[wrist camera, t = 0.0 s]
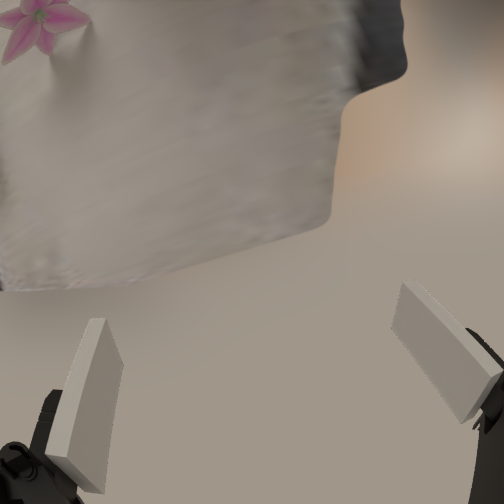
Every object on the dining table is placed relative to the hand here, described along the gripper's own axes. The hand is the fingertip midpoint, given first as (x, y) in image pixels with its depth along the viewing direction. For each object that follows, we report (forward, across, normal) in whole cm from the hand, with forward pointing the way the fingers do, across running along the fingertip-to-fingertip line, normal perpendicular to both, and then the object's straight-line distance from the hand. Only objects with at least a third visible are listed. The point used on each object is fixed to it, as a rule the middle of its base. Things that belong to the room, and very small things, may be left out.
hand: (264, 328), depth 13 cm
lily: (+28, -20, +24) cm, 42 cm away
